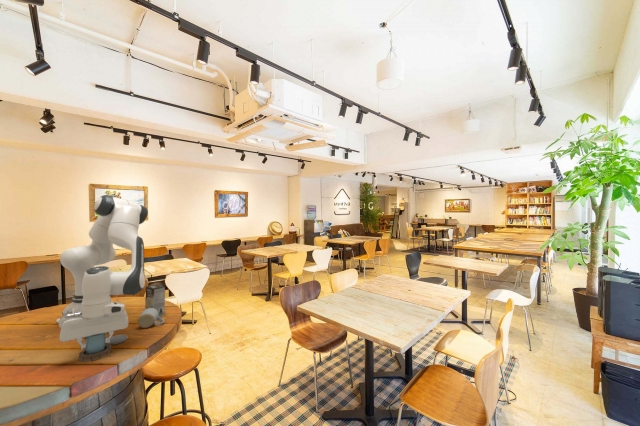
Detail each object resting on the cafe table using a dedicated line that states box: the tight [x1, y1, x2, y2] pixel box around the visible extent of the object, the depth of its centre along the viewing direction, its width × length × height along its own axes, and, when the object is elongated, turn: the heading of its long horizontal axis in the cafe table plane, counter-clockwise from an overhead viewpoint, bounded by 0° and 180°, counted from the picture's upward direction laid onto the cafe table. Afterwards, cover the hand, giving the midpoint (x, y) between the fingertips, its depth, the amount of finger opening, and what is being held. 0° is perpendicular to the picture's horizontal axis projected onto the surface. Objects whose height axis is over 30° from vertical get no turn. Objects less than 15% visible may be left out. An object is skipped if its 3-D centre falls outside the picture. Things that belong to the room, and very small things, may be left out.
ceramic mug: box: [137, 308, 165, 329], centre depth 131 cm, size 11×8×8 cm
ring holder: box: [78, 344, 112, 363], centre depth 102 cm, size 9×9×2 cm
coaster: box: [107, 334, 129, 346], centre depth 114 cm, size 9×9×1 cm
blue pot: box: [85, 333, 106, 355], centre depth 104 cm, size 10×6×8 cm, turn 41°
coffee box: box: [144, 283, 166, 318], centre depth 145 cm, size 9×6×16 cm
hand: (95, 345), depth 102 cm, fingers closed on blue pot, 6 cm apart
